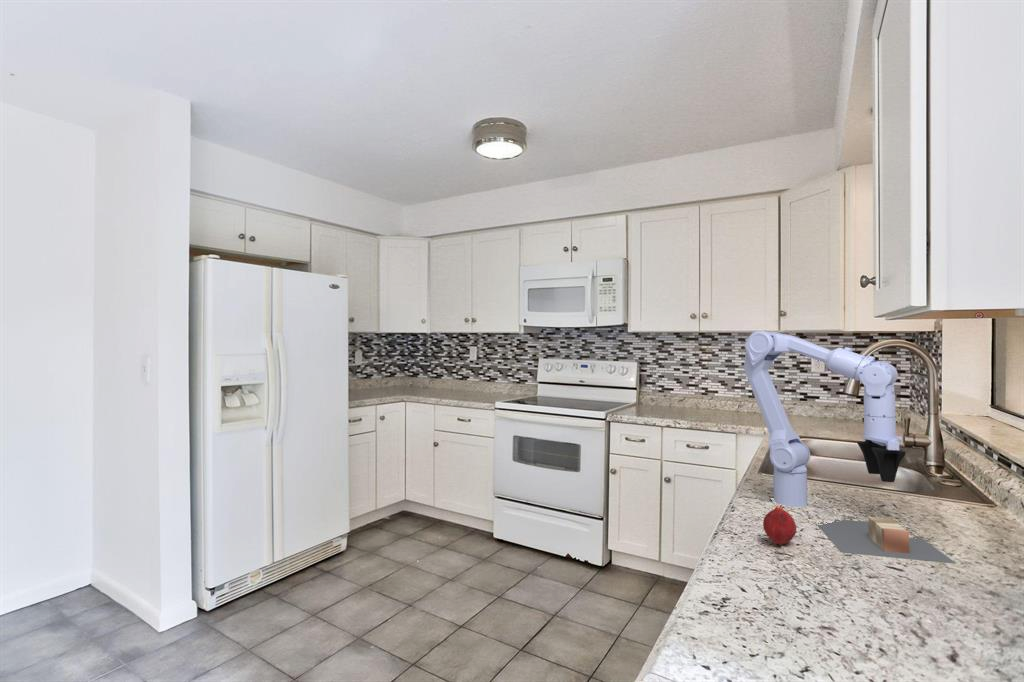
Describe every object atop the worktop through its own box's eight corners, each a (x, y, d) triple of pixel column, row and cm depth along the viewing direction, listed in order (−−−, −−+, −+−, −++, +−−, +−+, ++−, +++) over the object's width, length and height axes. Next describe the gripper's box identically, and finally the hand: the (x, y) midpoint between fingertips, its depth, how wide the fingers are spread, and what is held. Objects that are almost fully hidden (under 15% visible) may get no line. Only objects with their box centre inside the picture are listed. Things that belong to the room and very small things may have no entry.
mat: (810, 519, 118) (810, 517, 118) (903, 526, 112) (903, 524, 112) (841, 554, 97) (841, 552, 97) (957, 566, 91) (957, 563, 91)
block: (868, 517, 105) (883, 529, 97) (891, 518, 104) (909, 531, 96) (868, 536, 105) (884, 551, 97) (891, 538, 104) (909, 553, 96)
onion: (799, 552, 98) (798, 510, 98) (765, 548, 100) (765, 507, 100) (793, 542, 103) (792, 501, 103) (761, 538, 105) (761, 499, 105)
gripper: (916, 420, 106) (917, 486, 106) (887, 413, 120) (888, 471, 119) (876, 419, 108) (877, 484, 108) (852, 412, 122) (853, 469, 122)
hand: (880, 477), depth 114 cm, fingers open, 7 cm apart
